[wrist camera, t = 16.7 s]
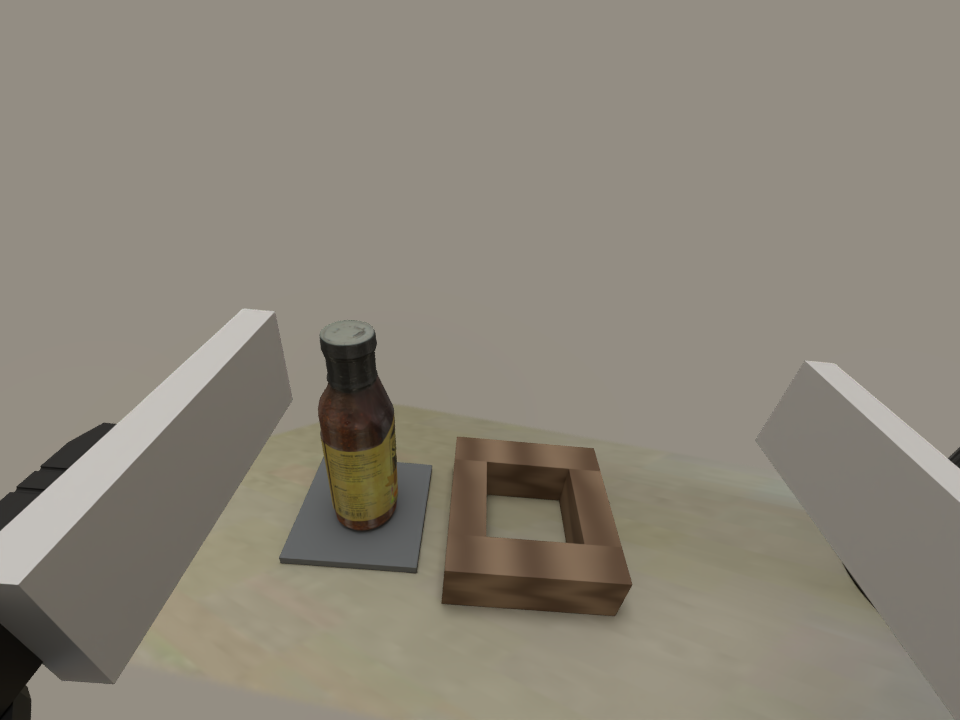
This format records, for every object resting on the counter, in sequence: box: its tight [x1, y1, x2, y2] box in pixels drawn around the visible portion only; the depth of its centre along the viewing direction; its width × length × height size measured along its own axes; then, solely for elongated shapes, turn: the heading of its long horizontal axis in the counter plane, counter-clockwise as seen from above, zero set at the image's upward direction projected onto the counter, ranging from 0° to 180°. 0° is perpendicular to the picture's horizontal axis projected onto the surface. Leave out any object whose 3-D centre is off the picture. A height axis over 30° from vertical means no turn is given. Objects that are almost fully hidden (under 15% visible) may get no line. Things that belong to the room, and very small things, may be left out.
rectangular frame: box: [442, 437, 632, 616], centre depth 41 cm, size 15×15×5 cm
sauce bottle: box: [318, 320, 398, 531], centre depth 37 cm, size 6×6×20 cm
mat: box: [279, 457, 432, 573], centre depth 42 cm, size 12×12×1 cm
